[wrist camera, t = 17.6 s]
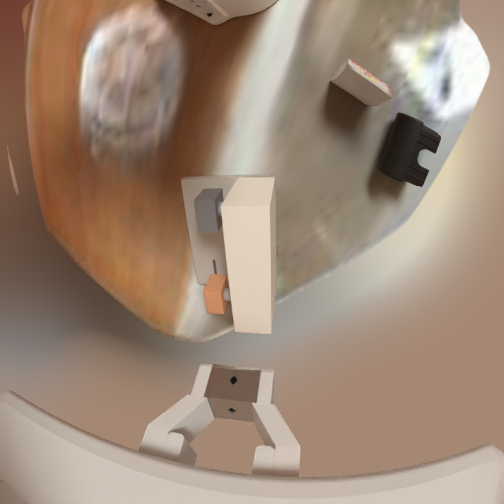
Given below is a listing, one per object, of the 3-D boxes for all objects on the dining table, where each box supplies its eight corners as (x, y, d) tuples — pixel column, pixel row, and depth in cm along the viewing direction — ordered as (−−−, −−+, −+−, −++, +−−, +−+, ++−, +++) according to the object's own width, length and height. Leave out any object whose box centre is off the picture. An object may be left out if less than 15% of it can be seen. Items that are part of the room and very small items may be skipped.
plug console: (199, 279, 59) (178, 326, 47) (183, 177, 48) (148, 207, 36) (276, 282, 57) (271, 333, 45) (275, 174, 46) (269, 206, 34)
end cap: (391, 110, 37) (406, 113, 31) (426, 127, 37) (444, 134, 31) (372, 164, 42) (384, 175, 37) (407, 178, 42) (422, 192, 37)
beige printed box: (366, 104, 37) (385, 108, 29) (329, 81, 36) (340, 76, 28) (377, 87, 35) (399, 86, 27) (341, 63, 34) (355, 54, 26)
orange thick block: (214, 295, 54) (207, 313, 49) (210, 273, 51) (203, 291, 47) (237, 296, 53) (232, 314, 49) (235, 275, 50) (229, 292, 46)
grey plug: (207, 218, 45) (198, 232, 41) (203, 188, 43) (193, 200, 38) (234, 218, 45) (228, 232, 40) (232, 188, 42) (225, 199, 38)
